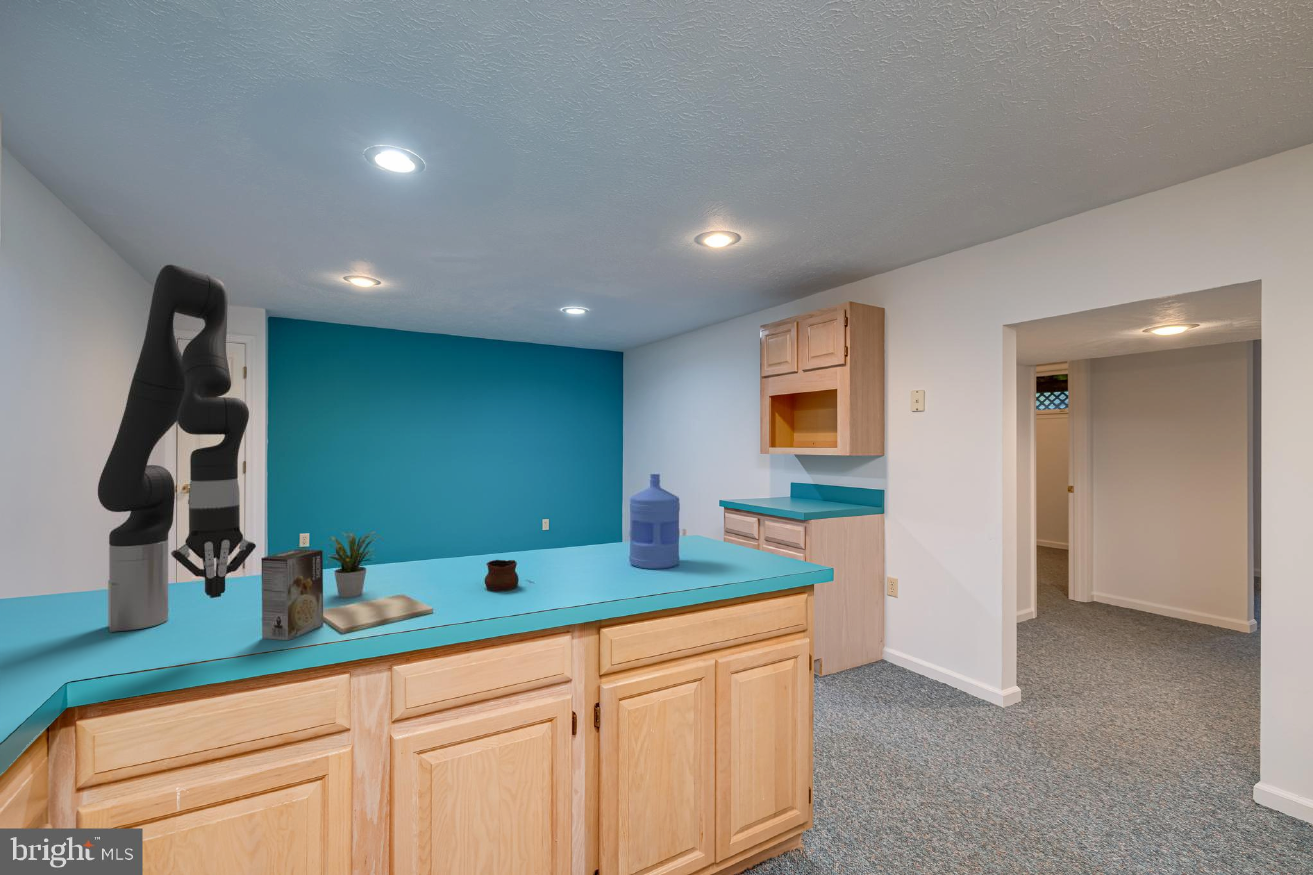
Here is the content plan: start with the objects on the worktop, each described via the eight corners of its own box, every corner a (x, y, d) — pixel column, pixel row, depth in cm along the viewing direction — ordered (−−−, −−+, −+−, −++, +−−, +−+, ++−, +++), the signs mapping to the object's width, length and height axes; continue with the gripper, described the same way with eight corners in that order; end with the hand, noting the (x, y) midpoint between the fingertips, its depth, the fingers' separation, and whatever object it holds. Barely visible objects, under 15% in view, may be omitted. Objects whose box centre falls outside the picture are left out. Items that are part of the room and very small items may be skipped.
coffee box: (298, 623, 122) (298, 548, 122) (324, 625, 120) (324, 549, 120) (260, 638, 113) (260, 557, 113) (288, 641, 112) (288, 558, 111)
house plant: (394, 585, 152) (394, 523, 152) (378, 600, 139) (378, 533, 138) (336, 587, 150) (336, 524, 150) (314, 603, 136) (314, 534, 136)
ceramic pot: (523, 576, 164) (523, 551, 163) (546, 592, 149) (546, 564, 148) (458, 585, 154) (458, 559, 154) (475, 603, 139) (475, 575, 139)
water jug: (627, 558, 187) (628, 472, 186) (675, 557, 188) (676, 472, 188) (630, 570, 171) (631, 476, 171) (682, 569, 173) (683, 476, 173)
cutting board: (341, 633, 116) (341, 628, 116) (316, 615, 127) (316, 611, 127) (433, 612, 130) (433, 608, 130) (403, 598, 141) (403, 594, 141)
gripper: (171, 509, 100) (172, 608, 100) (261, 502, 109) (262, 593, 110) (165, 505, 105) (166, 600, 105) (252, 499, 114) (252, 586, 115)
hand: (215, 596), depth 107 cm, fingers closed
